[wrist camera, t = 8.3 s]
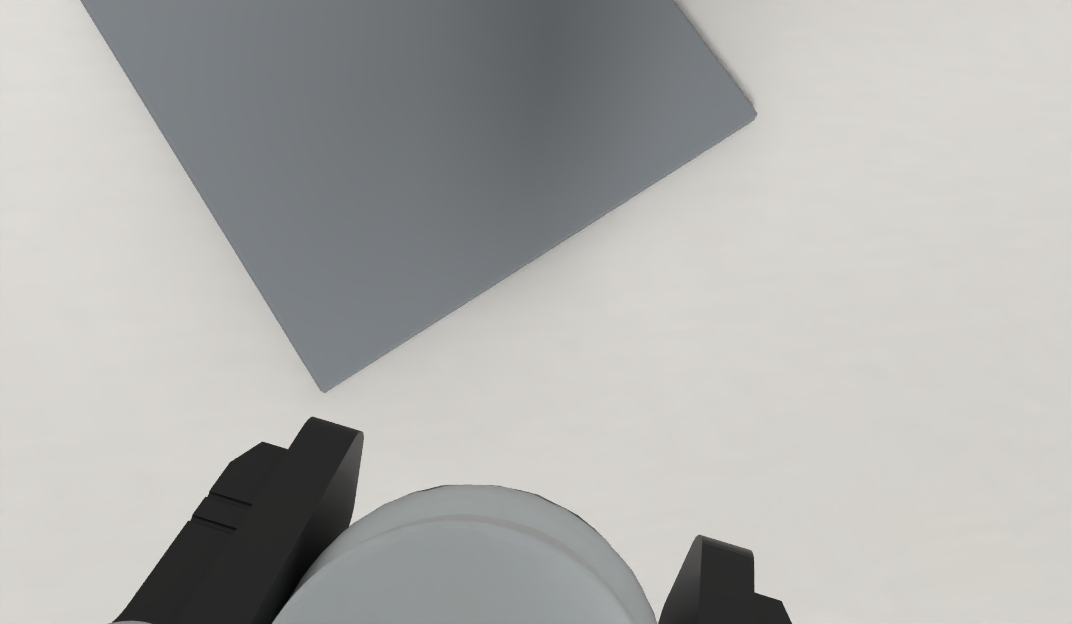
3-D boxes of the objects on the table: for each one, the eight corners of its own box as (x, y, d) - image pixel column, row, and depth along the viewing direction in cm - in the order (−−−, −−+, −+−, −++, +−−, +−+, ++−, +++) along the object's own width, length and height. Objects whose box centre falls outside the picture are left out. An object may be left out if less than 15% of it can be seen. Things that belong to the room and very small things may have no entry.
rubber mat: (484, -240, 36) (483, -252, 35) (753, 120, 33) (757, 113, 32) (74, -14, 34) (66, -23, 33) (324, 392, 31) (320, 390, 30)
